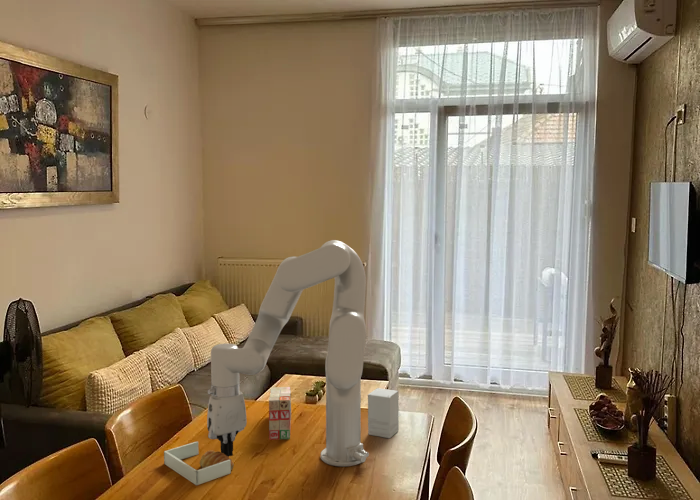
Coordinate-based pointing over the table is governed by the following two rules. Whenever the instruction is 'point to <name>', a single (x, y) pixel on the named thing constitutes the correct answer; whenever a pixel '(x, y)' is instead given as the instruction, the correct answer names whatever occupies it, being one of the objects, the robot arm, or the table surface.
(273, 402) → the stack of blocks
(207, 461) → the pastry
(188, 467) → the frame
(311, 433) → the table surface
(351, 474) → the table surface
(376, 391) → the supplement box
